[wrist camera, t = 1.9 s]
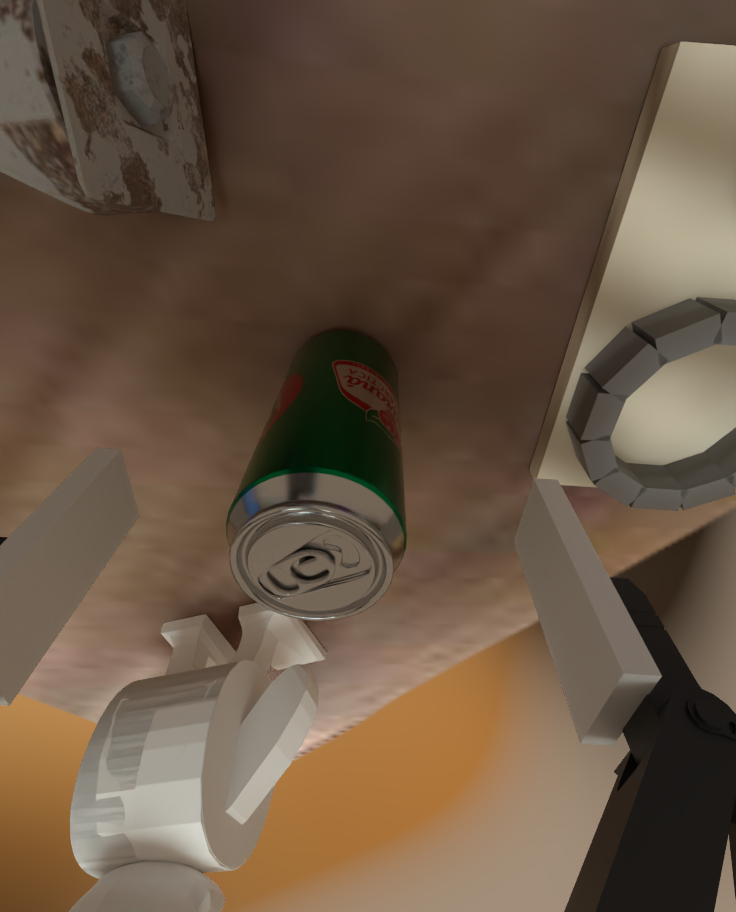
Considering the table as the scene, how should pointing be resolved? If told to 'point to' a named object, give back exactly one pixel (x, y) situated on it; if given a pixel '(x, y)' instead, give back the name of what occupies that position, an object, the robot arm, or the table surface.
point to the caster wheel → (104, 105)
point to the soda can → (324, 486)
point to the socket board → (659, 307)
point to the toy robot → (191, 764)
